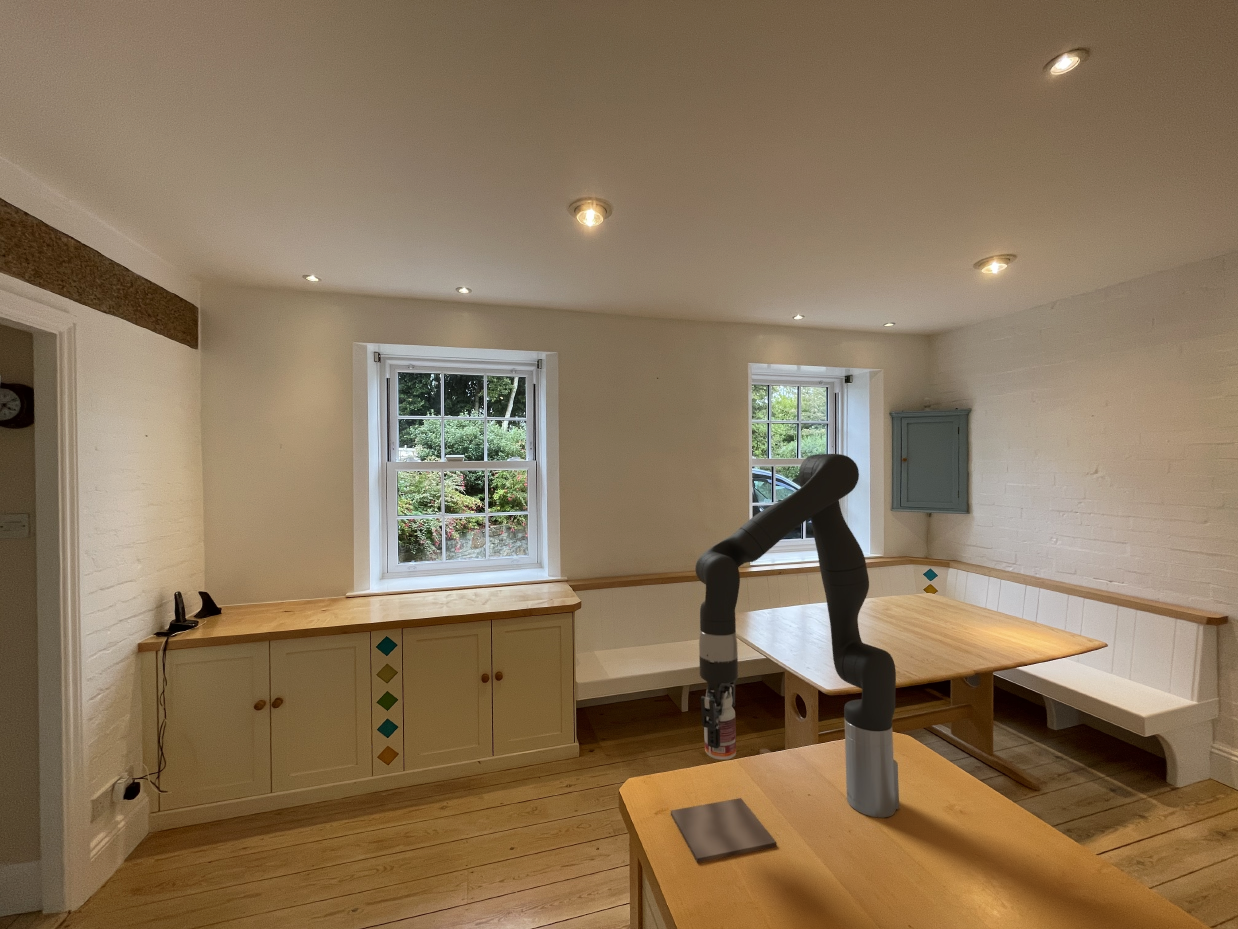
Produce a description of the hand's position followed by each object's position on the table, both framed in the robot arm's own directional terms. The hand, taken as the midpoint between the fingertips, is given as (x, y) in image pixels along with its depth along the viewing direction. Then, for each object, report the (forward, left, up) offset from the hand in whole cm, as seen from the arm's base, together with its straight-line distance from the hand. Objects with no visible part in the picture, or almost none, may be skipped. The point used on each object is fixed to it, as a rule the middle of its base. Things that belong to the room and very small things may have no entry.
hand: (719, 738), depth 100 cm
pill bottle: (0, 0, -3) cm, 3 cm away
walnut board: (0, 0, -18) cm, 18 cm away
